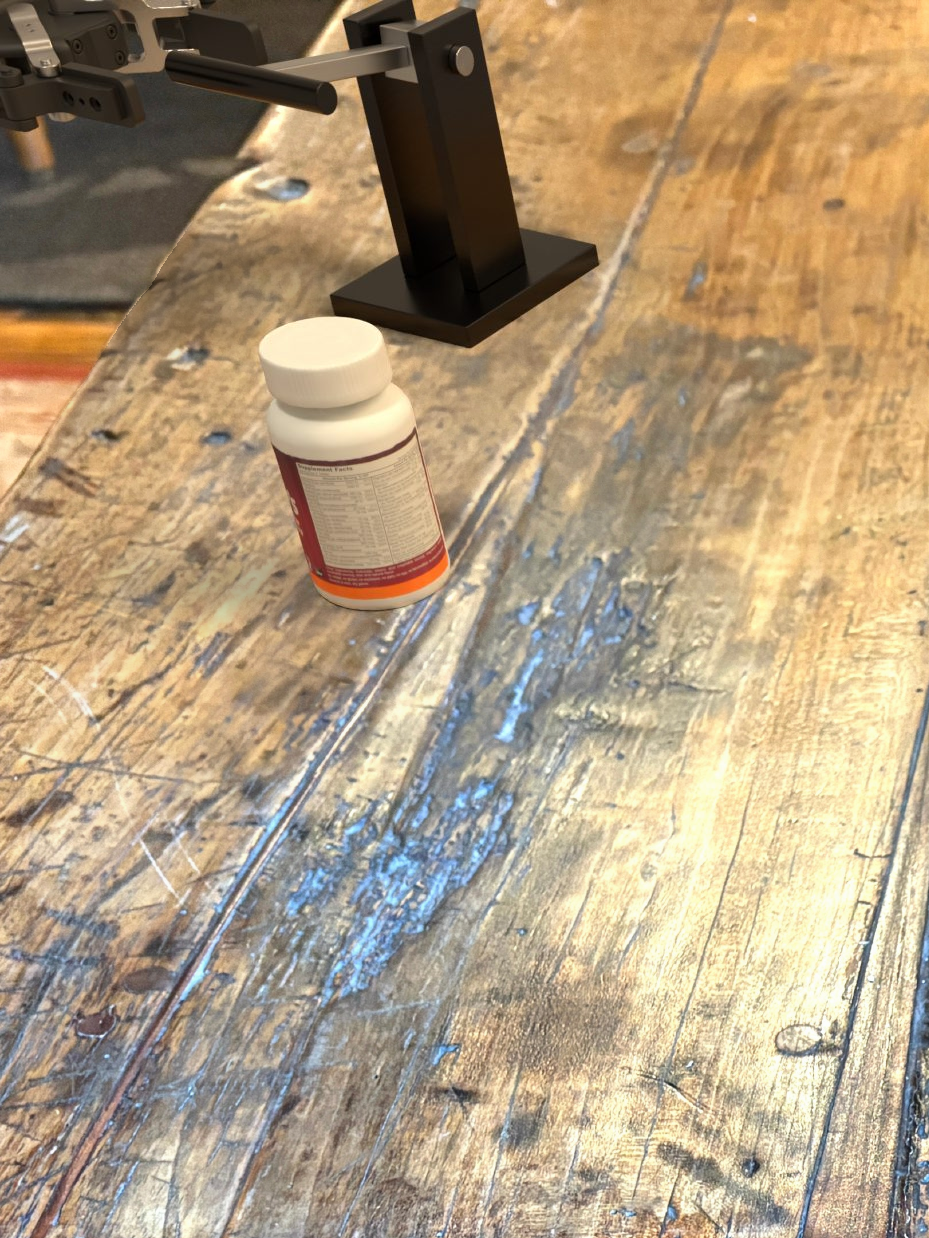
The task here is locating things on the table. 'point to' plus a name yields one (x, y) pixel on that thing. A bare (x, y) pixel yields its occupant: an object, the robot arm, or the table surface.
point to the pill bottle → (352, 465)
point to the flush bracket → (448, 193)
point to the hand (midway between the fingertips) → (199, 73)
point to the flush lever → (299, 72)
